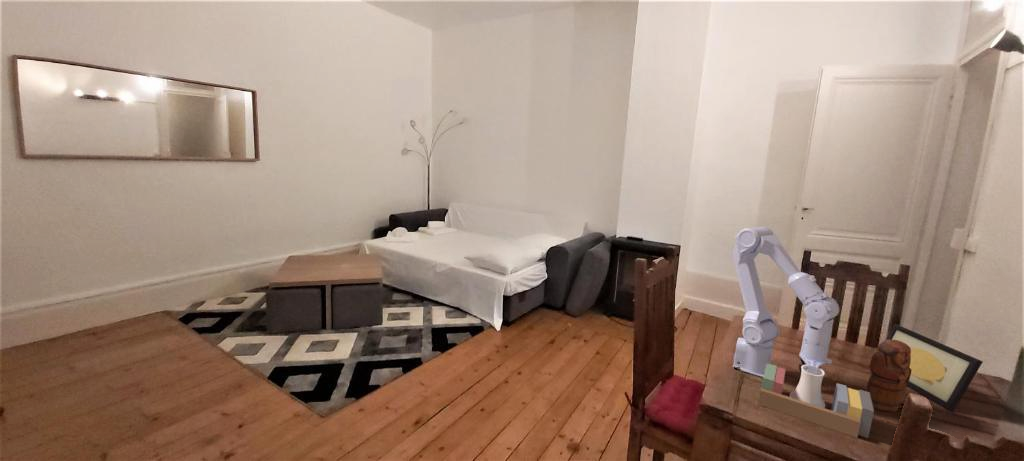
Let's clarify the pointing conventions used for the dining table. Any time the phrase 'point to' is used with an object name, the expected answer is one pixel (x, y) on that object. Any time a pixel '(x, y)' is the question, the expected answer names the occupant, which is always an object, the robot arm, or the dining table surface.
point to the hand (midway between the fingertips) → (807, 386)
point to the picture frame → (936, 368)
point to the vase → (809, 387)
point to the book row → (847, 408)
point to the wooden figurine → (889, 375)
